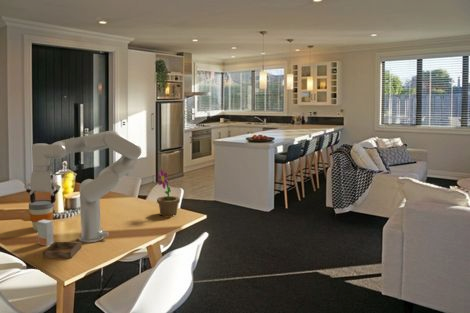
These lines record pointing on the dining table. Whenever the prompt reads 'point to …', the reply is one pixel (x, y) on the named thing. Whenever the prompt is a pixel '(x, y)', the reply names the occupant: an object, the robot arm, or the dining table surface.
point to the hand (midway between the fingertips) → (43, 202)
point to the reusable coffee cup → (40, 211)
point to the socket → (62, 254)
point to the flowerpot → (167, 199)
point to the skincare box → (45, 232)
